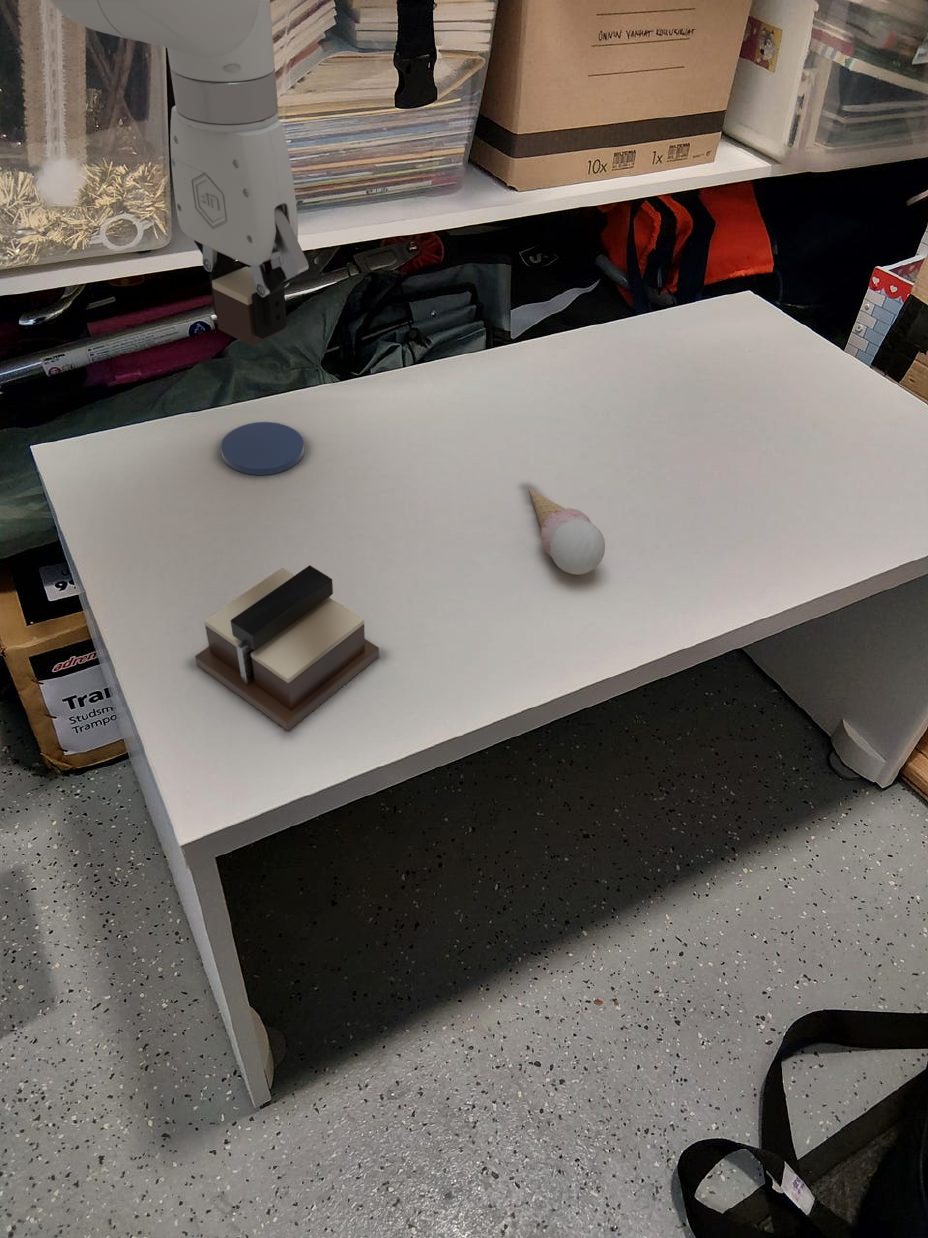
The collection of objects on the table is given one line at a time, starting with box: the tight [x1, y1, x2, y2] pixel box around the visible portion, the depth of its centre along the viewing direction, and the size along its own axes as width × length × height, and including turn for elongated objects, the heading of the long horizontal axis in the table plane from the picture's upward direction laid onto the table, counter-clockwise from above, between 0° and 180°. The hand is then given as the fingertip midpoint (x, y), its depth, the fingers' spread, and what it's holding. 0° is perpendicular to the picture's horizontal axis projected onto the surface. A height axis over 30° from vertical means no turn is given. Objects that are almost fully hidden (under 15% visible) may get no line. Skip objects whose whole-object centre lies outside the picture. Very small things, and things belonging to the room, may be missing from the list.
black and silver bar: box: [231, 564, 334, 685], centre depth 70 cm, size 9×2×6 cm, turn 142°
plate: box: [220, 421, 305, 476], centre depth 92 cm, size 8×8×1 cm
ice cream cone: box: [528, 488, 606, 575], centre depth 85 cm, size 5×5×15 cm
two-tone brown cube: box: [212, 265, 287, 347], centre depth 82 cm, size 4×4×4 cm
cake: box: [194, 567, 380, 732], centre depth 72 cm, size 10×10×4 cm
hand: (250, 320), depth 83 cm, fingers closed on two-tone brown cube, 4 cm apart
